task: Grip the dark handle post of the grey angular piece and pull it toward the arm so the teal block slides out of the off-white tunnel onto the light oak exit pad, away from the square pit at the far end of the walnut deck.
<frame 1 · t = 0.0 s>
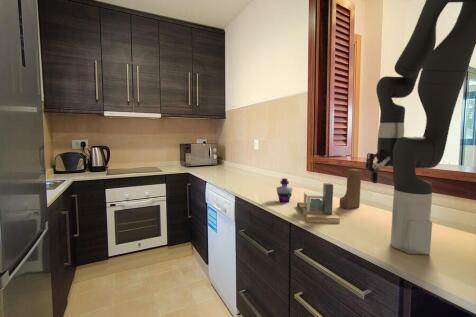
hand: (386, 183, 86), 17 cm above the worktop, tool pointing down, fingers open, 8 cm apart
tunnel: (316, 201, 107), on the deck, point 5 cm above the worktop
block: (315, 208, 107), point 2 cm above the worktop, touching deck
potion bottle: (284, 201, 127), on the worktop
deck: (315, 213, 108), on the worktop
grey angular piece: (319, 196, 104), point 8 cm above the worktop, slide at 0.0 cm
wooden block: (349, 207, 118), on the worktop
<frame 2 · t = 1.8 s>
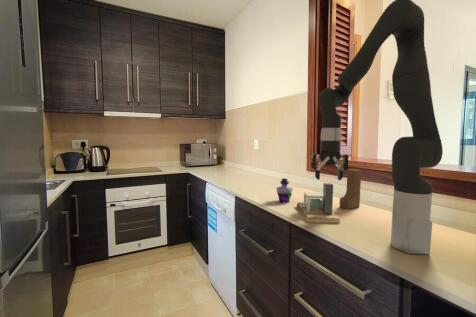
hand: (328, 179, 100), 16 cm above the worktop, tool pointing down, fingers open, 8 cm apart
nothing on the worktop moved.
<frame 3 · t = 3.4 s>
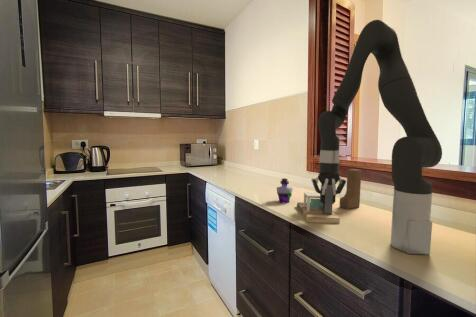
hand: (327, 203, 101), 6 cm above the worktop, tool pointing down, fingers closed on grey angular piece, 3 cm apart
grey angular piece: (319, 196, 104), point 8 cm above the worktop, slide at 0.0 cm, touching gripper
everything else where it was.
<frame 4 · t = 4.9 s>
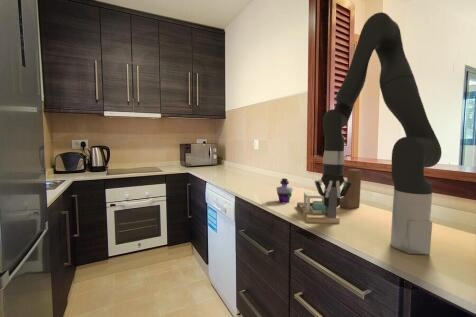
hand: (331, 206, 96), 6 cm above the worktop, tool pointing down, fingers closed on grey angular piece, 3 cm apart
block: (318, 211, 103), point 2 cm above the worktop, touching deck
grey angular piece: (322, 199, 100), point 8 cm above the worktop, slide at 4.8 cm, touching gripper
everything else where it was.
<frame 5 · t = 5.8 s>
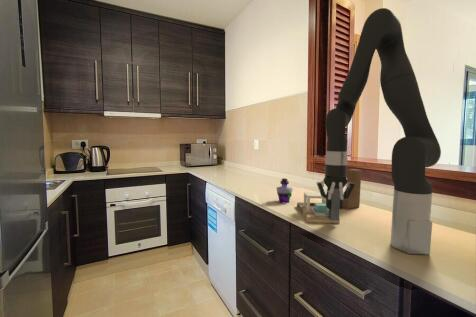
hand: (334, 208, 93), 6 cm above the worktop, tool pointing down, fingers closed on grey angular piece, 3 cm apart
block: (320, 213, 100), point 2 cm above the worktop, touching deck, grey angular piece
grey angular piece: (324, 200, 97), point 8 cm above the worktop, slide at 7.8 cm, touching block, gripper
everything else where it was.
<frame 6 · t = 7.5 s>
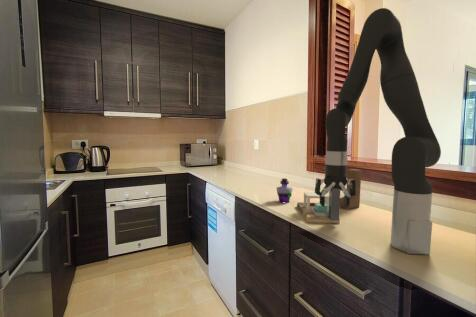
hand: (334, 206, 92), 7 cm above the worktop, tool pointing down, fingers open, 8 cm apart
block: (320, 214, 100), point 2 cm above the worktop, touching deck
grey angular piece: (324, 200, 97), point 8 cm above the worktop, slide at 7.8 cm
everything else where it was.
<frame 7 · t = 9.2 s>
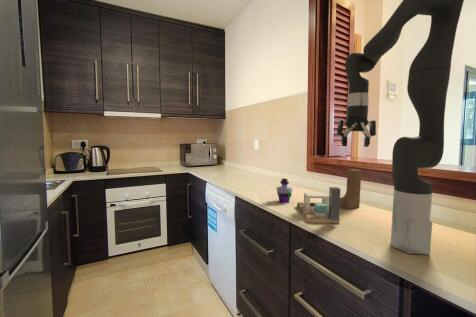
hand: (355, 146, 99), 29 cm above the worktop, tool pointing down, fingers open, 8 cm apart
nothing on the worktop moved.
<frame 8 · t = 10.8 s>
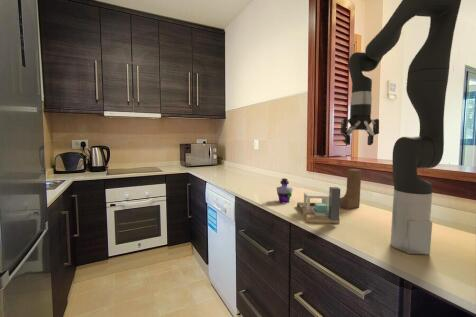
hand: (358, 144, 100), 30 cm above the worktop, tool pointing down, fingers open, 8 cm apart
nothing on the worktop moved.
at the end: block inside the target area (0.9 cm from its centre), point 2.0 cm above the worktop; grey angular piece slide at 7.8 cm; block tilted 0° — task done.
